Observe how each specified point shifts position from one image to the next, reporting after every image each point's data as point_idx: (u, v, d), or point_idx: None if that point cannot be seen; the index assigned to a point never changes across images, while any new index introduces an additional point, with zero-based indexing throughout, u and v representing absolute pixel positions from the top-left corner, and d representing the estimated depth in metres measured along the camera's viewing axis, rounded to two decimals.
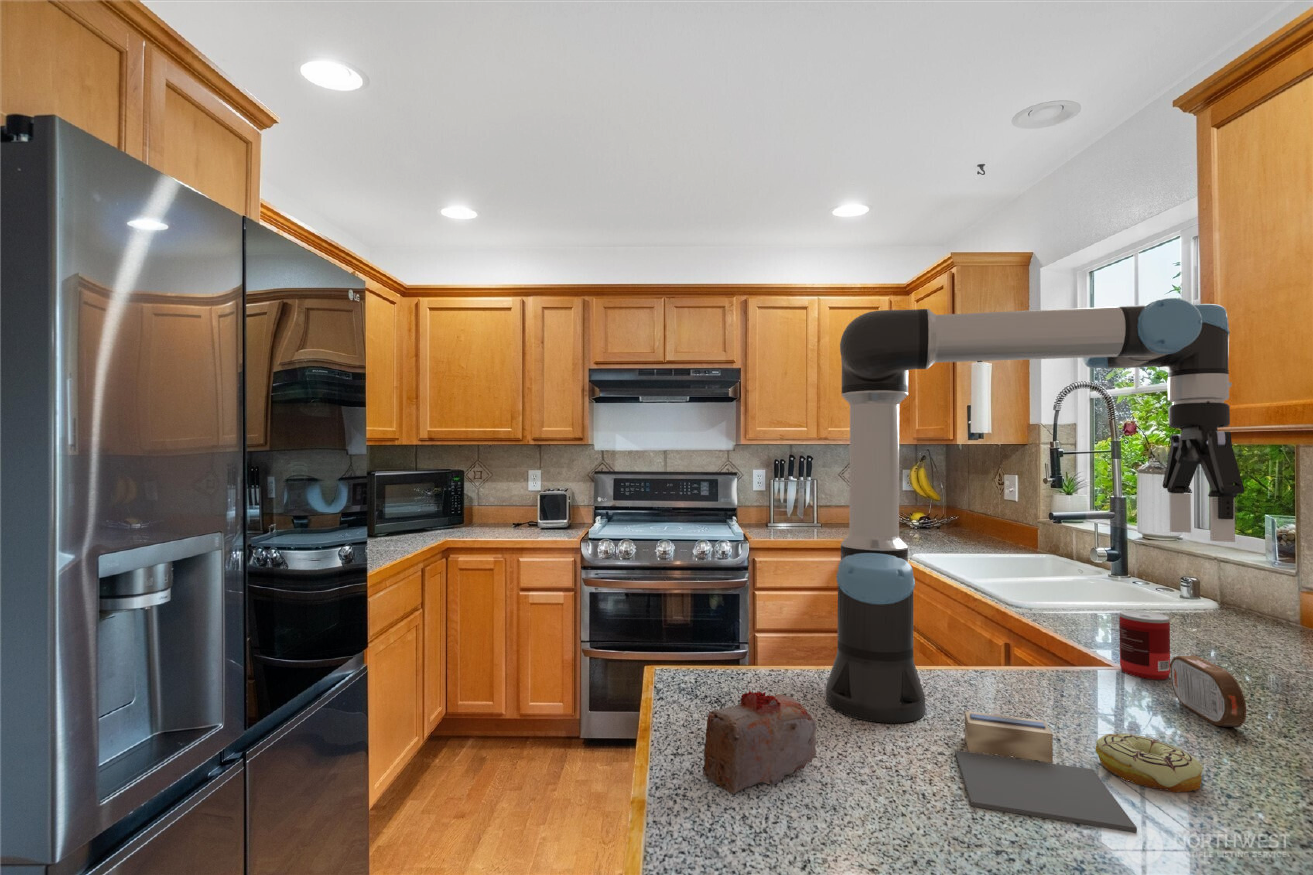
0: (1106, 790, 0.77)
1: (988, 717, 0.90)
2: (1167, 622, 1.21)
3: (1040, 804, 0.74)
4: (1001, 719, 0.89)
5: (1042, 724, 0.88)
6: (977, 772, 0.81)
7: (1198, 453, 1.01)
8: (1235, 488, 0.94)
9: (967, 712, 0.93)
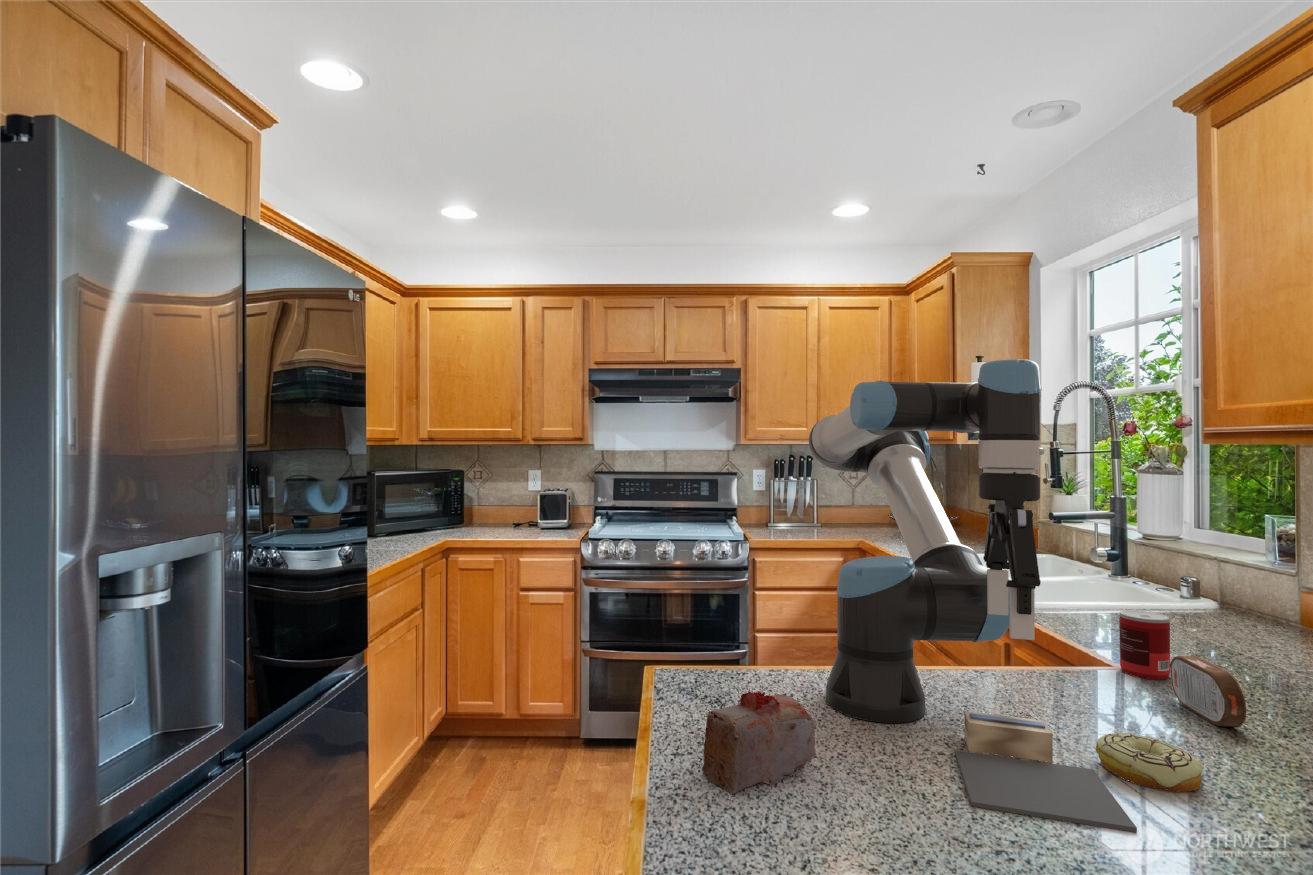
0: (1106, 790, 0.77)
1: (988, 717, 0.90)
2: (1167, 622, 1.21)
3: (1040, 804, 0.74)
4: (1001, 719, 0.89)
5: (1042, 724, 0.88)
6: (977, 772, 0.81)
7: (1002, 532, 0.88)
8: (1030, 580, 0.81)
9: (967, 712, 0.93)
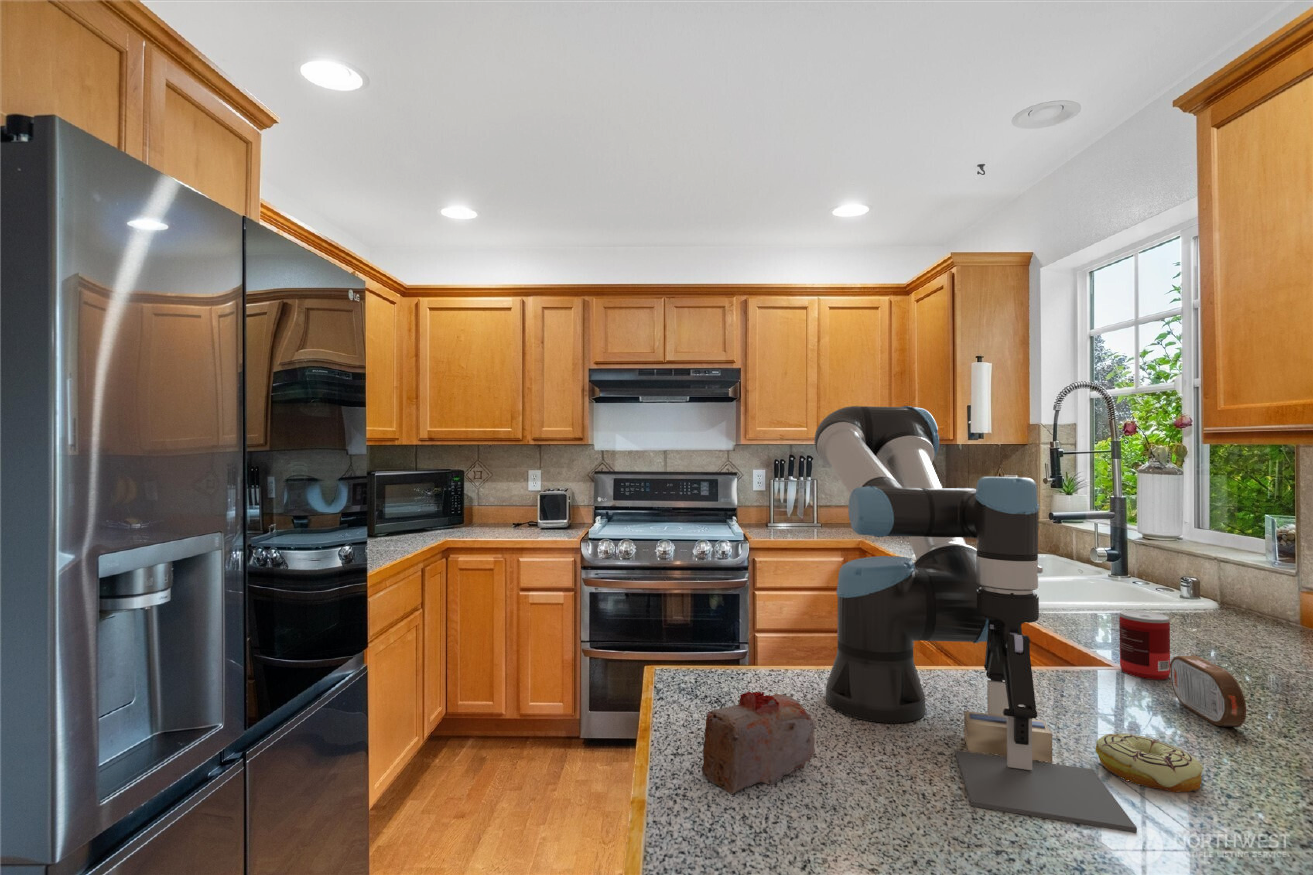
0: (1106, 790, 0.77)
1: (988, 717, 0.90)
2: (1167, 622, 1.21)
3: (1040, 804, 0.74)
4: (1001, 719, 0.89)
5: (1041, 724, 0.88)
6: (977, 772, 0.81)
7: (1000, 654, 0.87)
8: (1027, 712, 0.80)
9: (967, 712, 0.93)
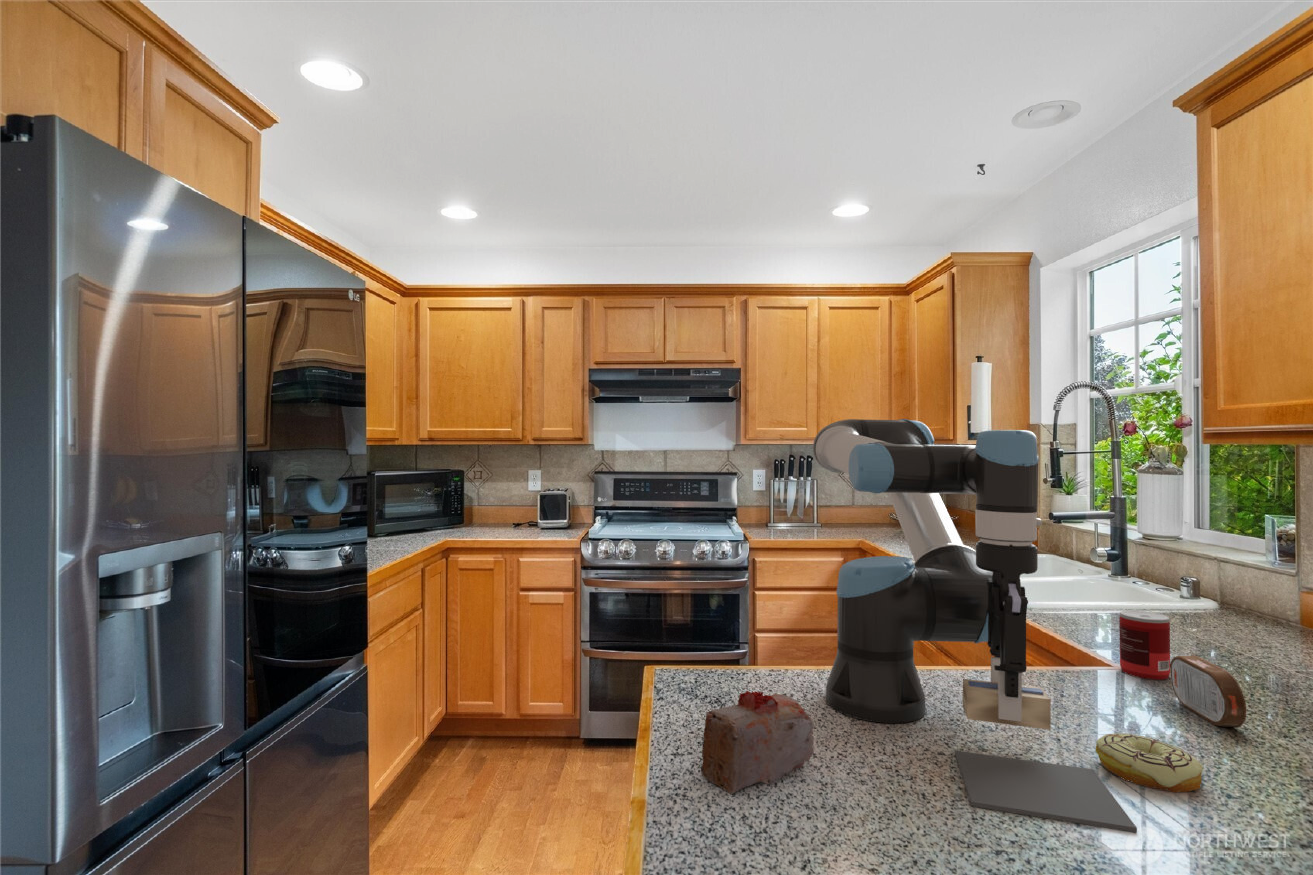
0: (1106, 790, 0.77)
1: (986, 684, 0.91)
2: (1167, 622, 1.21)
3: (1040, 804, 0.74)
4: None
5: (1040, 690, 0.89)
6: (977, 772, 0.81)
7: (997, 609, 0.88)
8: (1017, 668, 0.84)
9: (965, 680, 0.93)
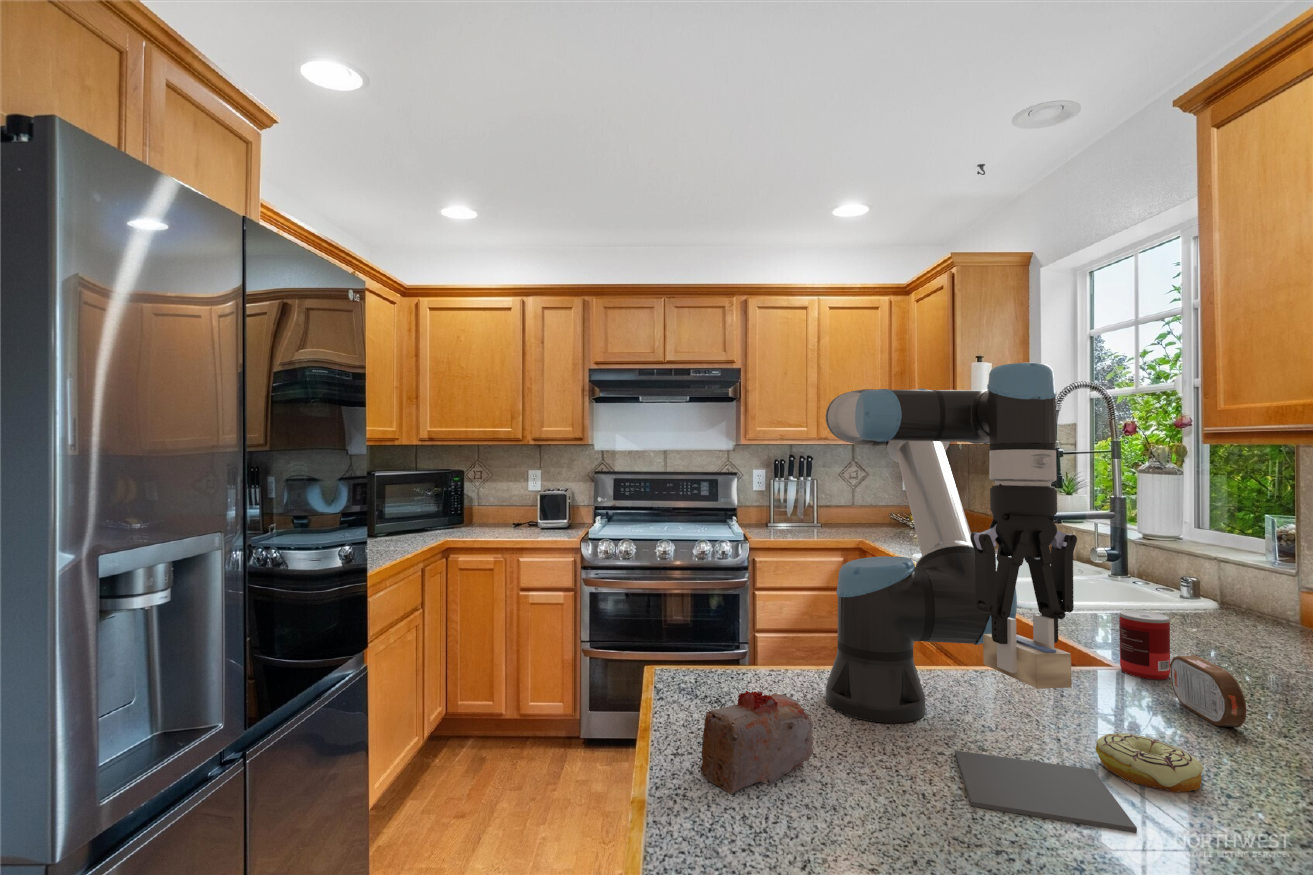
0: (1106, 790, 0.77)
1: None
2: (1167, 622, 1.21)
3: (1040, 804, 0.74)
4: (1019, 639, 0.84)
5: (1048, 649, 0.79)
6: (977, 772, 0.81)
7: (998, 553, 0.85)
8: (983, 608, 0.82)
9: None
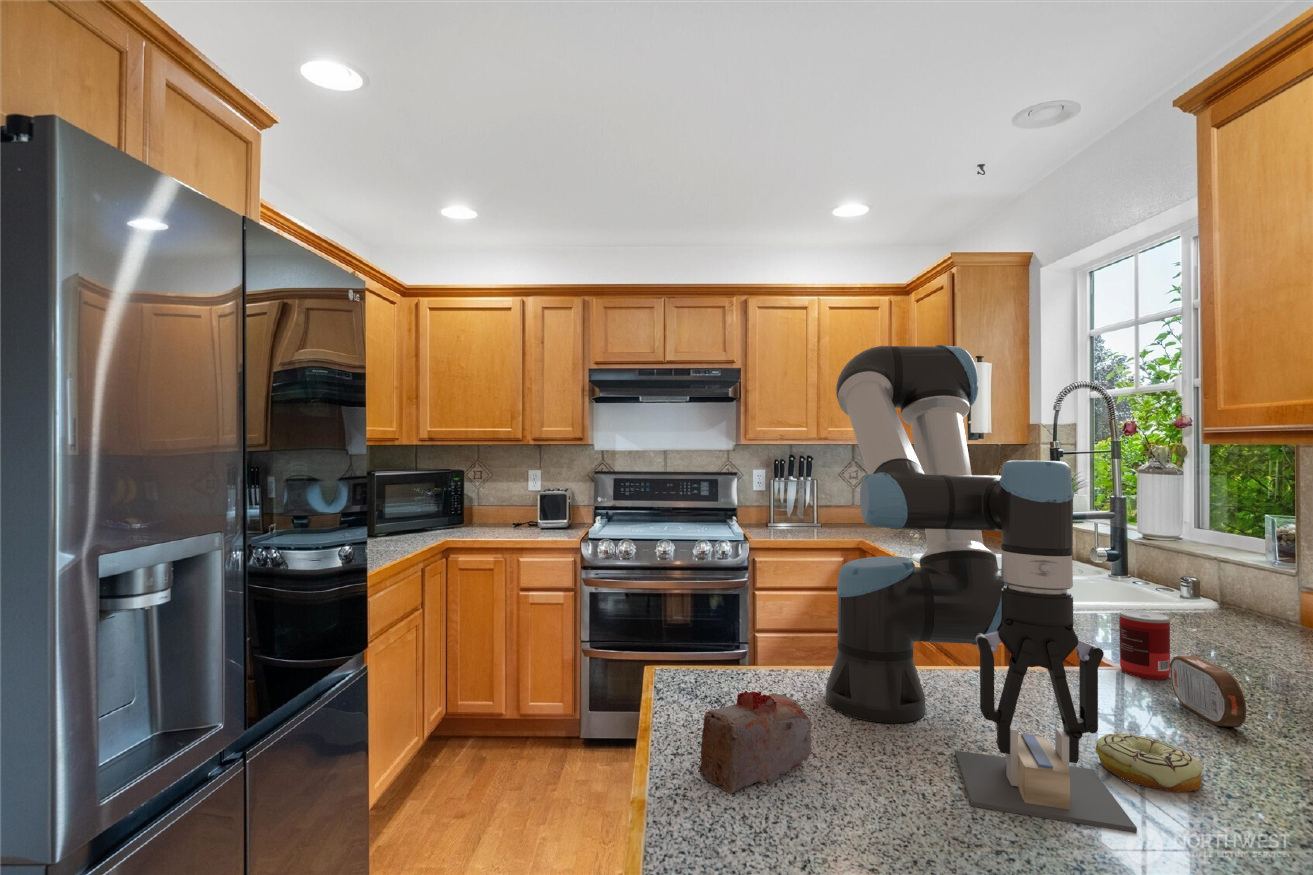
0: (1106, 790, 0.77)
1: (1031, 741, 0.81)
2: (1167, 622, 1.21)
3: None
4: (1033, 746, 0.79)
5: (1044, 764, 0.74)
6: (977, 772, 0.81)
7: (1010, 657, 0.81)
8: (982, 712, 0.80)
9: (1042, 737, 0.82)
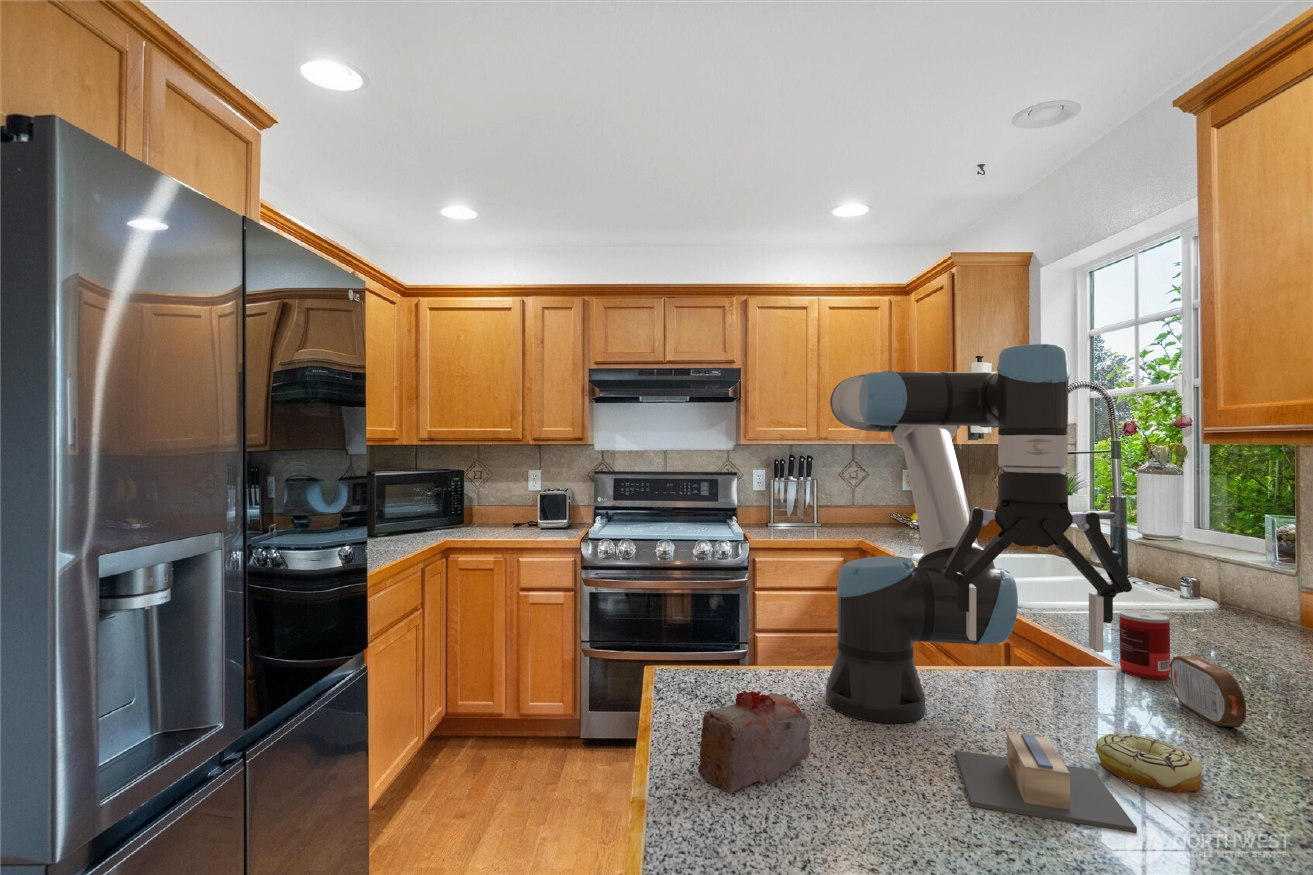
0: (1106, 790, 0.77)
1: (1031, 741, 0.81)
2: (1167, 622, 1.21)
3: None
4: (1033, 746, 0.79)
5: (1044, 764, 0.74)
6: (977, 772, 0.81)
7: (998, 533, 0.83)
8: (943, 572, 0.83)
9: (1042, 737, 0.82)
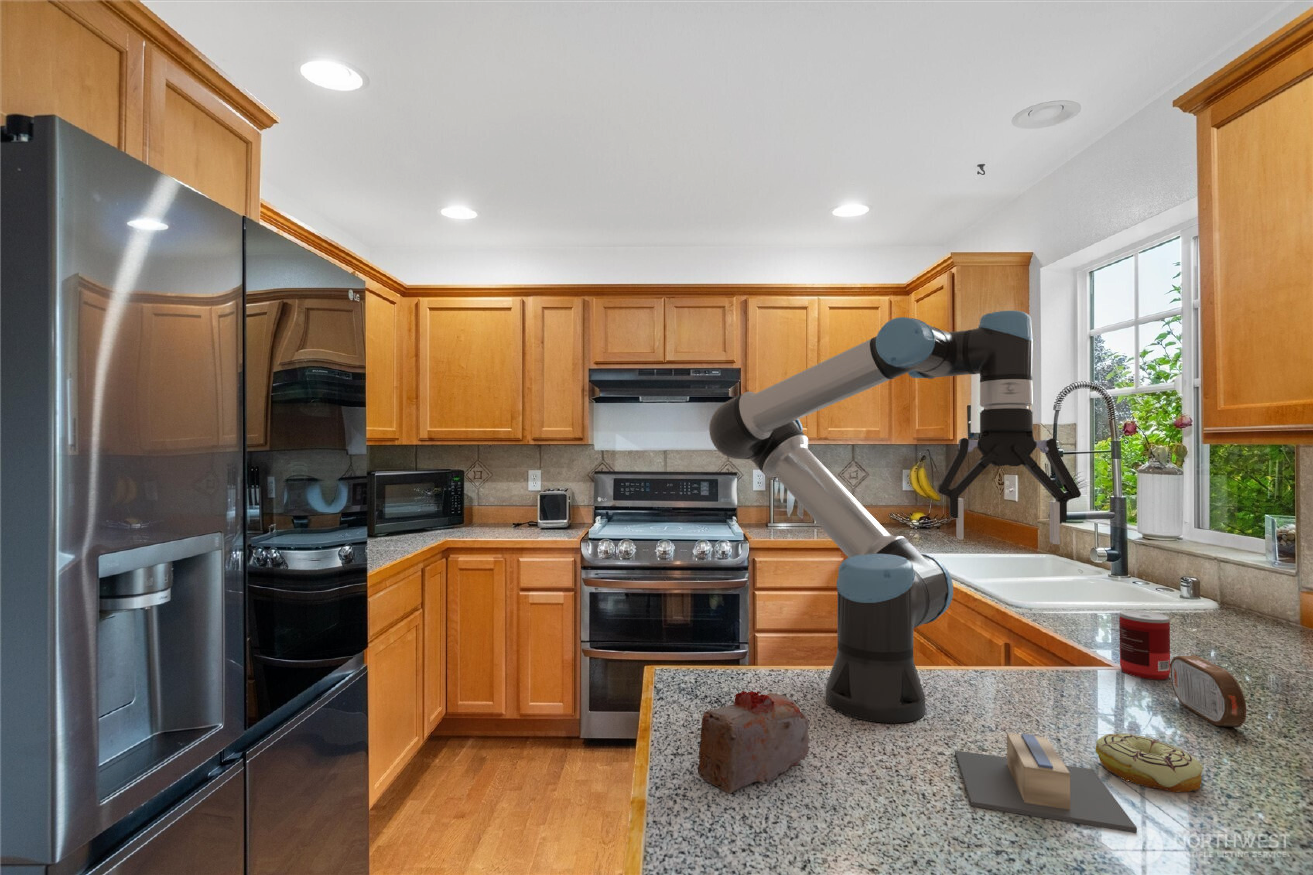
0: (1106, 790, 0.77)
1: (1031, 741, 0.81)
2: (1167, 622, 1.21)
3: None
4: (1033, 746, 0.79)
5: (1044, 764, 0.74)
6: (977, 772, 0.81)
7: None
8: (938, 489, 1.08)
9: (1042, 737, 0.82)
